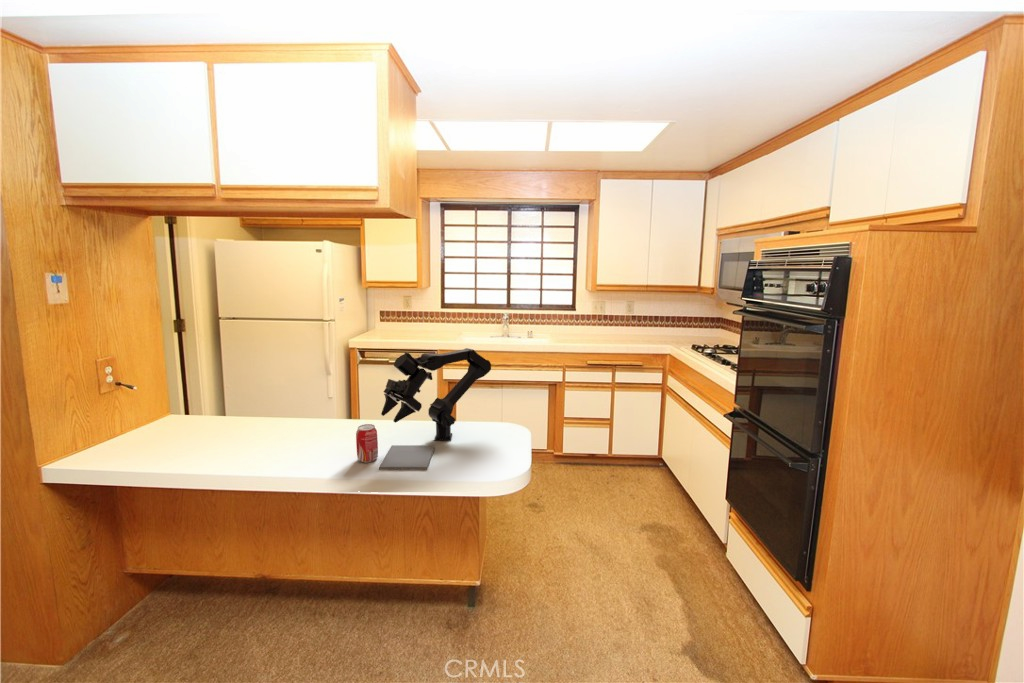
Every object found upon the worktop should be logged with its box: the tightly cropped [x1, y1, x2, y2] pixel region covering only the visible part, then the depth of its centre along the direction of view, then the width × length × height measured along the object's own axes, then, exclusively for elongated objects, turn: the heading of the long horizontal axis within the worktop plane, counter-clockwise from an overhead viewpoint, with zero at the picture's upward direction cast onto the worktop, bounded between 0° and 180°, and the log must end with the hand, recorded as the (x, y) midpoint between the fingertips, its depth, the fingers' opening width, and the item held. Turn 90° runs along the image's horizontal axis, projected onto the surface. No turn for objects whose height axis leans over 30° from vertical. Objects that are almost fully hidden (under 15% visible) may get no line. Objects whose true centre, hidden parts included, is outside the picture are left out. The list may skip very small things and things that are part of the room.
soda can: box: [355, 423, 379, 464], centre depth 157 cm, size 7×7×12 cm
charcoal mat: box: [378, 444, 436, 471], centre depth 159 cm, size 18×16×1 cm
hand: (388, 418), depth 161 cm, fingers open, 9 cm apart
